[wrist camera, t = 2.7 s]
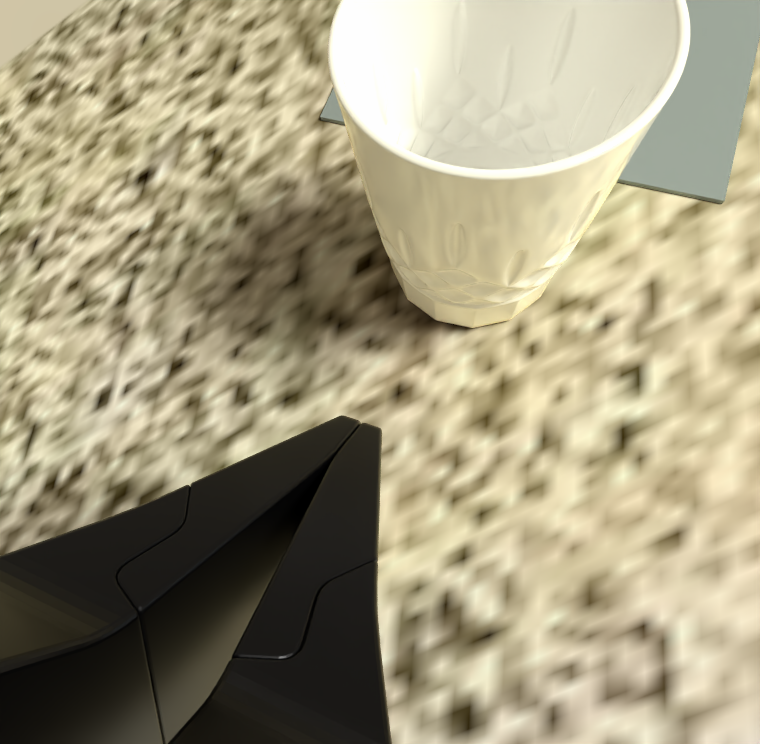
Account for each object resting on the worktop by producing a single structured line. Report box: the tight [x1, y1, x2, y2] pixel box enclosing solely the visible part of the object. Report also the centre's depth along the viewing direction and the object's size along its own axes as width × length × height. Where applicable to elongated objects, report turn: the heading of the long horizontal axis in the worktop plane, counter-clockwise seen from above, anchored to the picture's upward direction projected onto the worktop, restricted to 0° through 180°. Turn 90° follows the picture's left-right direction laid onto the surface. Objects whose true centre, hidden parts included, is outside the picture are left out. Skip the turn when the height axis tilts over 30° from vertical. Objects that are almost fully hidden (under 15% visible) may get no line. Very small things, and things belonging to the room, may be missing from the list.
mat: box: [320, 0, 760, 204], centre depth 23 cm, size 14×18×1 cm
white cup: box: [328, 0, 690, 328], centre depth 15 cm, size 8×8×10 cm
